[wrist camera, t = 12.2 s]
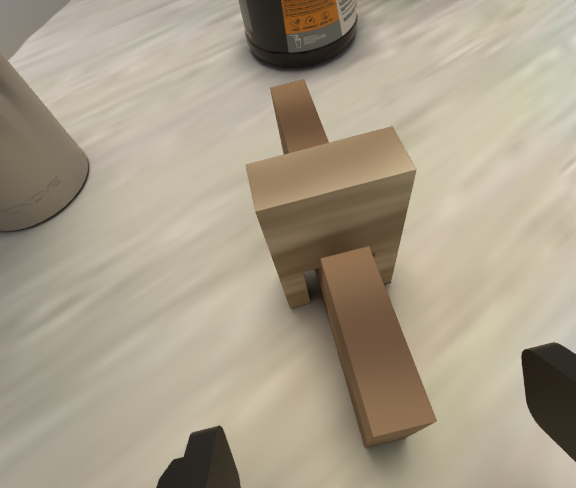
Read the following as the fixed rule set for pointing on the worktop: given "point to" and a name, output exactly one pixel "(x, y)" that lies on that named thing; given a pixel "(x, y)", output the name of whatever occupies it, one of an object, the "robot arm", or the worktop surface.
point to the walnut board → (359, 308)
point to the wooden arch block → (333, 204)
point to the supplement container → (298, 29)
